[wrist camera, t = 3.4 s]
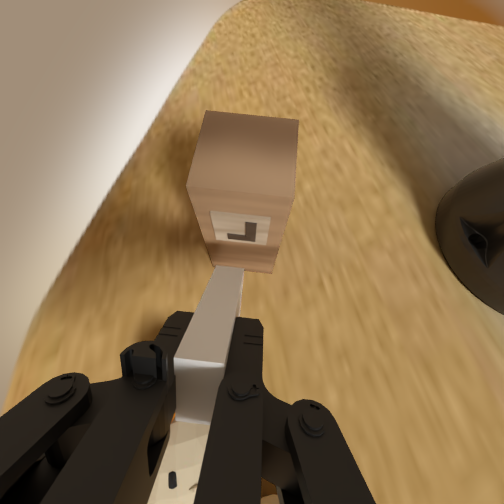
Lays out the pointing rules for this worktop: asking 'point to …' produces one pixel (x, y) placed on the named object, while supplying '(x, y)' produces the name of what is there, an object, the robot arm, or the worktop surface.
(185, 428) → the toy
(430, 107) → the worktop surface
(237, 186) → the block
